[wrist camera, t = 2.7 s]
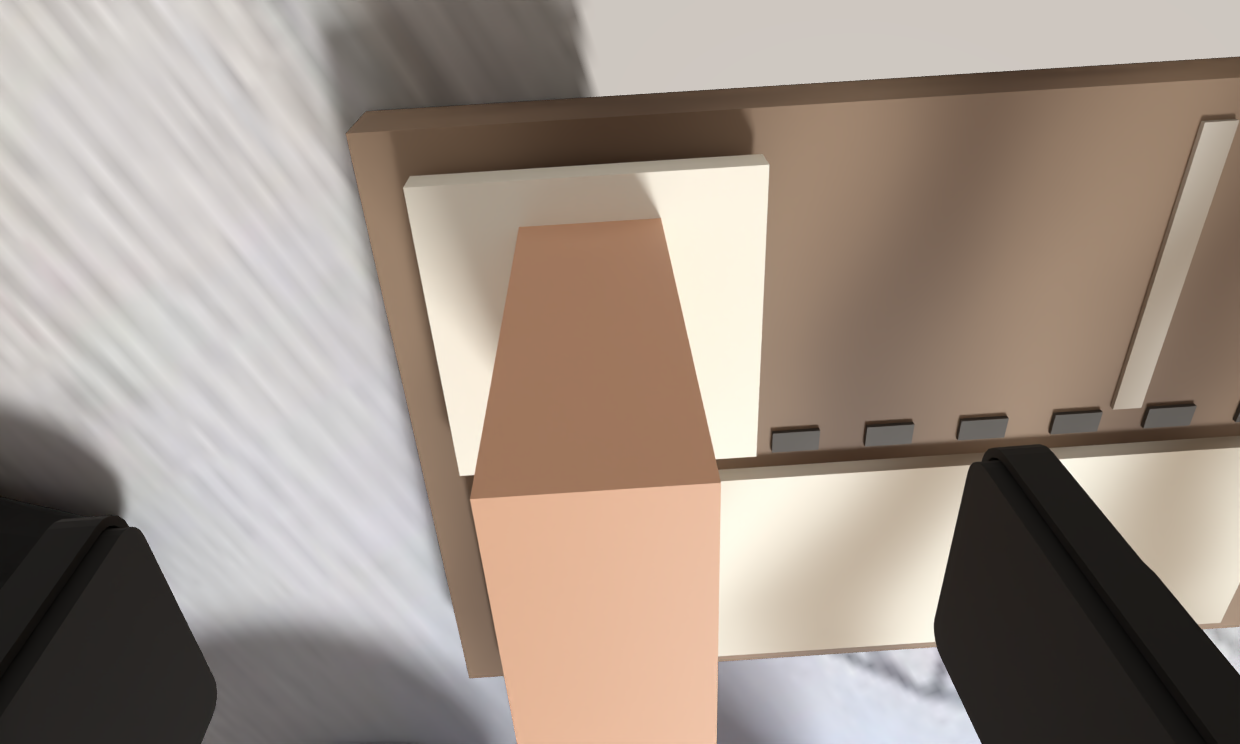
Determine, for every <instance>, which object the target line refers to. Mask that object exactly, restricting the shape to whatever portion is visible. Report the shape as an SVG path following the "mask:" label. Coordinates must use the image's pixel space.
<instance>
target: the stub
mask: <svg viewBox="0 0 1240 744" xmlns="http://www.w3.org/2000/svg"><path fill="white" fill-rule="evenodd" d="M768 186H769V163H768V162H767V160H766V159H765V157H764V155H763V154H754V155H738V156H722V157H706V158H690V159H674V160H659V161H643V162H627V163H611V164H595V165H579V166H563V167H548V168H532V169H516V170H500V171H484V172H468V173H453V174H437V175H421V176H410V177H409V178H408V180H407V182H406V184H405V185H404V187H403V190H404V195H405V200H406V205H407V210H408V215H409V221H410V226H411V231H412V236H413V241H414V246H415V251H416V256H417V261H418V266H419V271H420V276H421V281H422V286H423V292H424V297H425V302H426V307H427V312H428V317H429V322H430V327H431V332H432V337H433V342H434V347H435V352H436V357H437V363H438V368H439V373H440V378H441V383H442V388H443V393H444V398H445V403H446V408H447V413H448V418H449V423H450V428H451V433H452V439H453V444H454V449H455V454H456V459H457V464H458V469H459V474H460V476H467V475H474V480H473V485H472V491H471V496H470V502H471V507H472V512H473V518H474V523H475V528H476V533H477V538H478V543H479V549H480V554H481V559H482V564H483V569H484V575H485V580H486V585H487V590H488V595H489V601H490V606H491V611H492V616H493V621H494V627H495V632H496V637H497V642H498V647H499V653H500V658H501V663H502V668H503V673H504V678H505V684H506V689H507V694H508V699H509V704H510V710H511V715H512V720H513V725H514V730H515V736H516V741H517V744H717V690H718V631H719V571H720V512H721V481H720V476H719V472H718V467H717V463H716V459H727V458H742V457H756V453H757V431H758V408H759V386H760V364H761V342H762V319H763V297H764V275H765V253H766V230H767V208H768Z"/></svg>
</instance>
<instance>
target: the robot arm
mask: <svg viewBox="0 0 1240 744" xmlns="http://www.w3.org/2000/svg"><path fill="white" fill-rule="evenodd" d="M934 637H935V642H936V646H937V649H938V652H939V654H940V656H941V659H942V661H943V663H944V665H945V667H946V669H947V671H948V673H949V675H950V678H951V680H952V682H953V684H954V686H955V688H956V690H957V692H958V695H959V697H960V699H961V701H962V703H963V705H964V707H965V709H966V712H967V714H968V716H969V718H970V720H971V722H972V724H973V726H974V728H975V731H976V733H977V735H978V737H979V739H980V741H981V743H982V744H1240V675H1239V674H1238V672H1237V671H1236V670H1235V669H1234V667H1233V666H1232V665H1231V664H1230V663H1229V661H1228V660H1227V659H1226V658H1225V657H1224V655H1223V654H1222V653H1221V652H1220V651H1219V649H1218V648H1217V647H1216V646H1215V645H1214V643H1213V642H1212V641H1211V640H1210V639H1209V637H1208V636H1207V635H1206V634H1205V632H1204V631H1203V630H1202V629H1201V628H1200V626H1199V625H1198V624H1197V623H1196V622H1195V620H1194V619H1193V618H1192V617H1191V616H1190V614H1189V613H1188V612H1187V611H1186V610H1185V608H1184V607H1183V606H1182V605H1181V604H1180V602H1179V601H1178V600H1177V599H1176V597H1175V596H1174V595H1173V594H1172V593H1171V591H1170V590H1169V589H1168V588H1167V587H1166V585H1165V584H1164V583H1163V582H1162V581H1161V579H1160V578H1159V577H1158V576H1157V575H1156V573H1155V572H1154V571H1153V570H1152V569H1150V568H1149V567H1148V566H1147V565H1146V564H1145V563H1144V562H1143V561H1142V560H1141V558H1140V557H1139V556H1138V555H1137V553H1136V552H1135V551H1134V550H1133V549H1132V547H1131V546H1130V545H1129V544H1128V543H1127V541H1126V540H1125V539H1124V538H1123V537H1122V535H1121V534H1120V533H1119V532H1118V530H1117V529H1116V528H1115V527H1114V526H1113V524H1112V523H1111V522H1110V521H1109V520H1108V518H1107V517H1106V516H1105V515H1104V513H1103V512H1102V511H1101V510H1100V509H1099V507H1098V506H1097V505H1096V504H1095V503H1094V501H1093V500H1092V499H1091V498H1090V497H1089V495H1088V494H1087V493H1086V492H1085V490H1084V489H1083V488H1082V487H1081V486H1080V484H1079V483H1078V482H1077V481H1076V480H1075V478H1074V477H1073V476H1072V475H1071V473H1070V472H1069V471H1068V470H1067V469H1066V467H1065V466H1064V465H1063V464H1062V463H1061V461H1060V460H1059V459H1058V458H1057V457H1056V455H1055V454H1054V453H1053V452H1052V451H1051V450H1050V449H1049V448H1048V447H1047V446H1044V445H1041V444H1034V445H1021V446H1008V447H995V448H990V449H988V450H987V451H986V452H985V454H984V456H983V458H982V461H980V462H974V463H972V464H971V465H970V467H969V470H968V473H967V477H966V481H965V486H964V490H963V495H962V499H961V504H960V508H959V512H958V517H957V521H956V526H955V530H954V534H953V539H952V543H951V548H950V552H949V557H948V561H947V565H946V570H945V574H944V579H943V583H942V588H941V592H940V596H939V601H938V605H937V610H936V614H935V618H934ZM216 700H217V688H216V682H215V679H214V677H213V675H212V673H211V671H210V669H209V667H208V665H207V663H206V661H205V659H204V657H203V654H202V652H201V650H200V648H199V646H198V644H197V642H196V640H195V638H194V636H193V634H192V632H191V630H190V628H189V626H188V624H187V622H186V620H185V618H184V616H183V614H182V612H181V610H180V608H179V606H178V604H177V602H176V600H175V598H174V596H173V593H172V591H171V589H170V587H169V585H168V583H167V581H166V579H165V577H164V575H163V573H162V571H161V569H160V567H159V565H158V563H157V561H156V559H155V557H154V555H153V553H152V551H151V549H150V547H149V545H148V543H147V541H146V539H145V537H144V535H143V533H142V532H141V531H140V530H139V529H137V528H136V527H129V526H128V524H127V523H126V522H125V520H123V519H122V518H120V517H119V516H112V515H110V516H97V517H84V518H71V519H61V520H59V521H57V522H54V523H53V524H52V525H51V526H50V527H49V528H48V529H47V530H46V531H45V533H44V534H43V535H42V537H41V538H40V539H39V540H38V542H37V543H36V544H35V546H34V547H33V548H32V549H31V551H30V552H29V553H28V555H27V556H26V557H25V558H24V560H23V561H22V562H21V564H20V565H19V566H18V568H17V569H16V570H15V571H14V573H13V574H12V575H11V577H10V578H9V579H8V580H7V582H6V583H5V584H4V586H3V587H2V588H1V589H0V744H201V742H202V740H203V737H204V735H205V733H206V730H207V728H208V725H209V723H210V720H211V718H212V716H213V713H214V710H215V706H216Z"/></svg>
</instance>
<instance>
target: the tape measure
mask: <svg viewBox="0 0 1240 744" xmlns="http://www.w3.org/2000/svg"><path fill="white" fill-rule="evenodd" d="M71 518H84V517H83V516H80V515H76V514H72V513H68V512H63V511H59V510H54V509H50V508H45V507H41V506H37V505H32V504H28V503H24V502H19V501H15V500H11V499H7V498H3V497H0V589H1V588H2V587H3V586H4V584H5V583H6V582H7V580H8V579H9V578H10V577H11V575H12V574H13V573H14V571H15V570H16V569H17V568H18V566H19V565H20V564H21V562H22V561H23V560H24V558H25V557H26V556H27V555H28V553H29V552H30V551H31V549H32V548H33V547H34V546H35V544H36V543H37V542H38V540H39V539H40V538H41V537H42V535H43V534H44V533H45V531H46V530H47V529H48V528H49V527H50V526H51V525H52V524H53V523H54V522H57V521H59V520H61V519H71Z"/></svg>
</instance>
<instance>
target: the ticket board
mask: <svg viewBox="0 0 1240 744" xmlns="http://www.w3.org/2000/svg"><path fill="white" fill-rule="evenodd" d="M346 137H347V142H348V146H349V150H350V155H351V159H352V164H353V168H354V172H355V177H356V181H357V186H358V190H359V195H360V199H361V203H362V208H363V212H364V217H365V221H366V225H367V230H368V234H369V239H370V243H371V247H372V252H373V256H374V261H375V265H376V269H377V274H378V278H379V283H380V287H381V291H382V296H383V300H384V305H385V309H386V313H387V318H388V322H389V327H390V331H391V335H392V340H393V344H394V349H395V353H396V357H397V362H398V366H399V371H400V375H401V379H402V384H403V388H404V393H405V397H406V401H407V406H408V410H409V415H410V419H411V423H412V428H413V432H414V437H415V441H416V445H417V450H418V454H419V459H420V463H421V468H422V472H423V476H424V481H425V485H426V490H427V494H428V498H429V503H430V507H431V512H432V516H433V520H434V525H435V529H436V534H437V538H438V542H439V547H440V551H441V556H442V560H443V564H444V569H445V573H446V578H447V582H448V586H449V591H450V595H451V600H452V604H453V608H454V613H455V617H456V622H457V626H458V630H459V635H460V639H461V644H462V648H463V652H464V657H465V661H466V666H467V670H468V674H469V678H481V677H496V676H504V673H503V668H502V663H501V658H500V653H499V647H498V642H497V637H496V632H495V627H494V621H493V616H492V611H491V606H490V601H489V595H488V590H487V585H486V580H485V575H484V569H483V564H482V559H481V554H480V549H479V543H478V538H477V533H476V528H475V523H474V518H473V512H472V507H471V502H470V496H471V491H472V485H473V480H474V475H467V476H460V474H459V469H458V464H457V459H456V454H455V449H454V444H453V439H452V433H451V428H450V423H449V418H448V413H447V408H446V403H445V398H444V393H443V388H442V383H441V378H440V373H439V368H438V363H437V357H436V352H435V347H434V342H433V337H432V332H431V327H430V322H429V317H428V312H427V307H426V302H425V297H424V292H423V286H422V281H421V276H420V271H419V266H418V261H417V256H416V251H415V246H414V241H413V236H412V231H411V226H410V221H409V215H408V210H407V205H406V200H405V195H404V190H403V187H404V185H405V184H406V182H407V180H408V178H409V177H410V176H421V175H437V174H453V173H468V172H484V171H500V170H516V169H532V168H548V167H563V166H579V165H595V164H611V163H627V162H643V161H659V160H674V159H690V158H706V157H722V156H738V155H754V154H763V155H764V157H765V159H766V160H767V162H768V163H769V186H768V208H767V230H766V253H765V275H764V297H763V319H762V342H761V364H760V386H759V408H758V431H757V453H756V457H742V458H727V459H716V463H717V467H718V472H719V476H720V481H721V512H720V571H719V631H718V662H720V661H735V660H750V659H765V658H780V657H795V656H810V655H825V654H839V653H854V652H869V651H884V650H899V649H914V648H929V647H937V646H936V642H935V637H934V618H935V614H936V610H937V605H938V601H939V596H940V592H941V588H942V583H943V579H944V574H945V570H946V565H947V561H948V557H949V552H950V548H951V543H952V539H953V534H954V530H955V526H956V521H957V517H958V512H959V508H960V504H961V499H962V495H963V490H964V486H965V481H966V477H967V473H968V470H969V467H970V465H971V464H972V463H974V462H980V461H982V458H983V456H984V454H985V452H986V451H987V450H988V449H990V448H995V447H1008V446H1021V445H1034V444H1041V445H1044V446H1047V447H1048V448H1049V449H1050V450H1051V451H1052V452H1053V453H1054V454H1055V455H1056V457H1057V458H1058V459H1059V460H1060V461H1061V463H1062V464H1063V465H1064V466H1065V467H1066V469H1067V470H1068V471H1069V472H1070V473H1071V475H1072V476H1073V477H1074V478H1075V480H1076V481H1077V482H1078V483H1079V484H1080V486H1081V487H1082V488H1083V489H1084V490H1085V492H1086V493H1087V494H1088V495H1089V497H1090V498H1091V499H1092V500H1093V501H1094V503H1095V504H1096V505H1097V506H1098V507H1099V509H1100V510H1101V511H1102V512H1103V513H1104V515H1105V516H1106V517H1107V518H1108V520H1109V521H1110V522H1111V523H1112V524H1113V526H1114V527H1115V528H1116V529H1117V530H1118V532H1119V533H1120V534H1121V535H1122V537H1123V538H1124V539H1125V540H1126V541H1127V543H1128V544H1129V545H1130V546H1131V547H1132V549H1133V550H1134V551H1135V552H1136V553H1137V555H1138V556H1139V557H1140V558H1141V560H1142V561H1143V562H1144V563H1145V564H1146V565H1147V566H1148V567H1149V568H1150V569H1152V570H1153V571H1154V572H1155V573H1156V575H1157V576H1158V577H1159V578H1160V579H1161V581H1162V582H1163V583H1164V584H1165V585H1166V587H1167V588H1168V589H1169V590H1170V591H1171V593H1172V594H1173V595H1174V596H1175V597H1176V599H1177V600H1178V601H1179V602H1180V604H1181V605H1182V606H1183V607H1184V608H1185V610H1186V611H1187V612H1188V613H1189V614H1190V616H1191V617H1192V618H1193V619H1194V620H1195V622H1196V623H1197V624H1198V625H1199V626H1200V628H1201V629H1213V628H1228V627H1240V57H1228V58H1211V59H1195V60H1179V61H1163V62H1147V63H1132V64H1115V65H1099V66H1083V67H1068V68H1051V69H1035V70H1020V71H1003V72H987V73H972V74H955V75H941V76H940V75H939V76H925V77H908V78H891V79H875V80H860V81H843V82H827V83H811V84H796V85H779V86H763V87H747V88H731V89H716V90H700V91H683V92H667V93H651V94H636V95H620V96H603V97H587V98H571V99H555V100H539V101H523V102H507V103H491V104H475V105H459V106H443V107H427V108H411V109H395V110H379V111H366V112H365V113H364V114H363V115H362V116H361V117H360V118H359V119H358V121H357V122H356V123H355V124H354V125H353V126H352V127H351V128H350V129H349V131H348V132H347V133H346Z"/></svg>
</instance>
